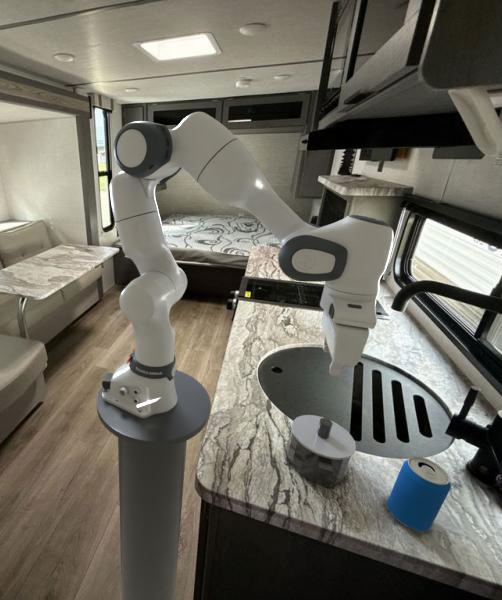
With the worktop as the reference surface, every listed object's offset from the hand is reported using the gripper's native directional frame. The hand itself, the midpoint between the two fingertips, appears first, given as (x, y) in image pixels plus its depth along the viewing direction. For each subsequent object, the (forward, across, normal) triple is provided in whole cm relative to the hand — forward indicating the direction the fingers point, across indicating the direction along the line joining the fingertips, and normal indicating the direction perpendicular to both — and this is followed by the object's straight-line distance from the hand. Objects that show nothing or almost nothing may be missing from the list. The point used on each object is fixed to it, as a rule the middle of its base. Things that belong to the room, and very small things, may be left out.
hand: (330, 362), depth 65 cm
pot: (+24, +4, +1) cm, 24 cm away
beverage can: (+24, +11, +16) cm, 31 cm away
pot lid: (+16, +4, +1) cm, 17 cm away
